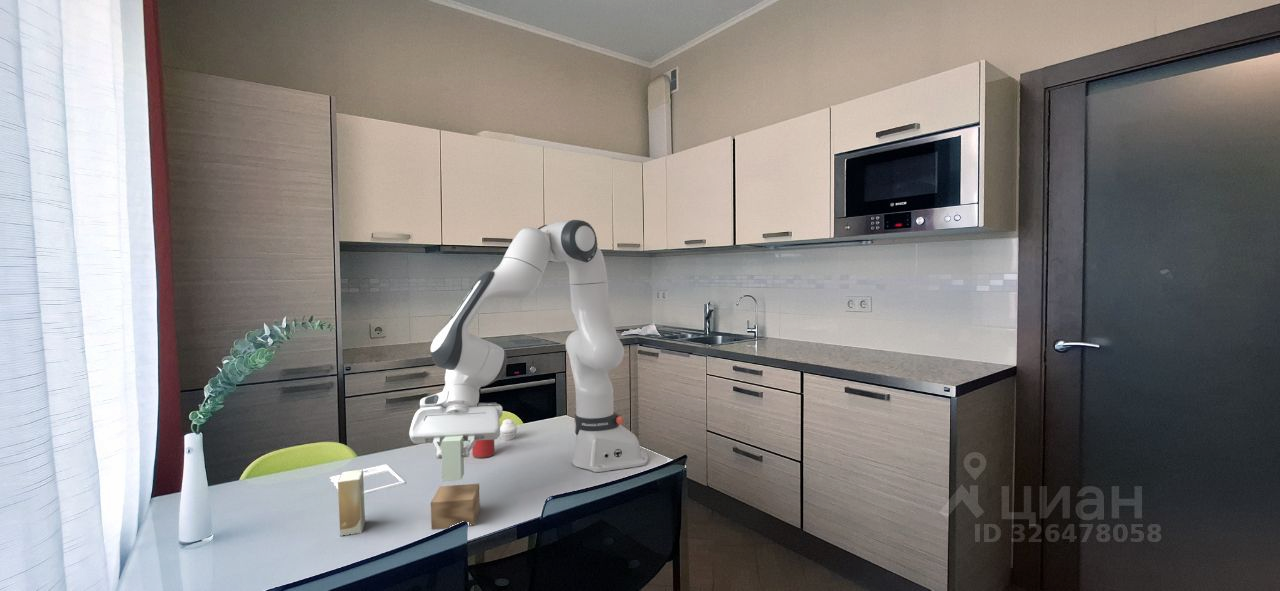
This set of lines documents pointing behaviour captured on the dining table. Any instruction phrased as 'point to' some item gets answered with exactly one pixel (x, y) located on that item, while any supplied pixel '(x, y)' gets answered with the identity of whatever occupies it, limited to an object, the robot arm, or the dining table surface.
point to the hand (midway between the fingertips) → (452, 457)
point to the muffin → (508, 429)
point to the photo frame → (371, 472)
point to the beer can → (483, 448)
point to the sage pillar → (452, 458)
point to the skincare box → (351, 502)
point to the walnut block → (455, 505)
